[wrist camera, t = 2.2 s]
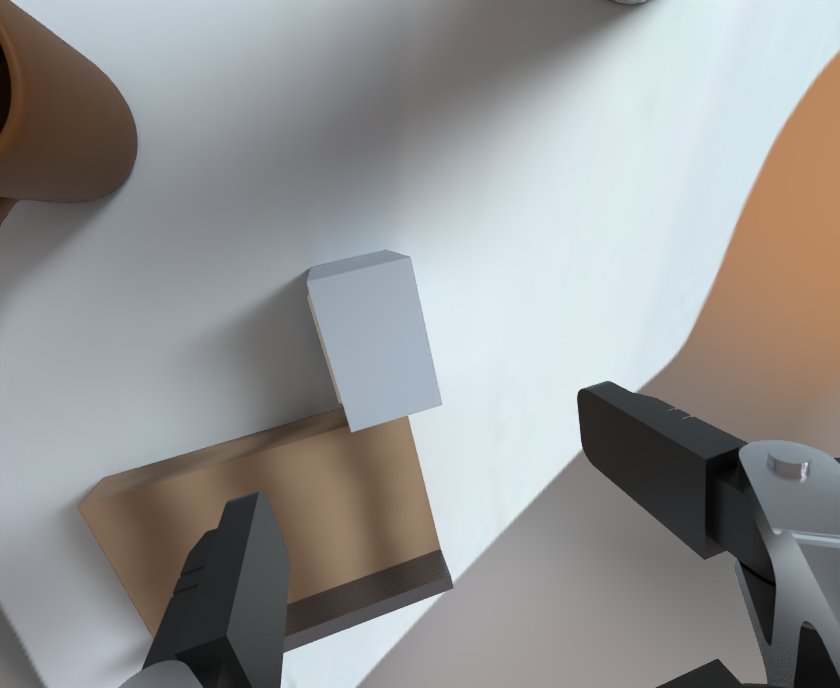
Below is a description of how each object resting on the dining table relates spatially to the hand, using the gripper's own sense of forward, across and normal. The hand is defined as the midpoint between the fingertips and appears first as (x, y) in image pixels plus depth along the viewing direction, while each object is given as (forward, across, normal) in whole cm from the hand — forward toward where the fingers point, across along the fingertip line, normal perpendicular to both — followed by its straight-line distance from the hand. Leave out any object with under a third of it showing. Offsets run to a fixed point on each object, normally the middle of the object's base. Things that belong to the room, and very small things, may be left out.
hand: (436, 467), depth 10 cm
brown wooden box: (+19, +9, +12) cm, 24 cm away
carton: (+19, 0, 0) cm, 19 cm away
